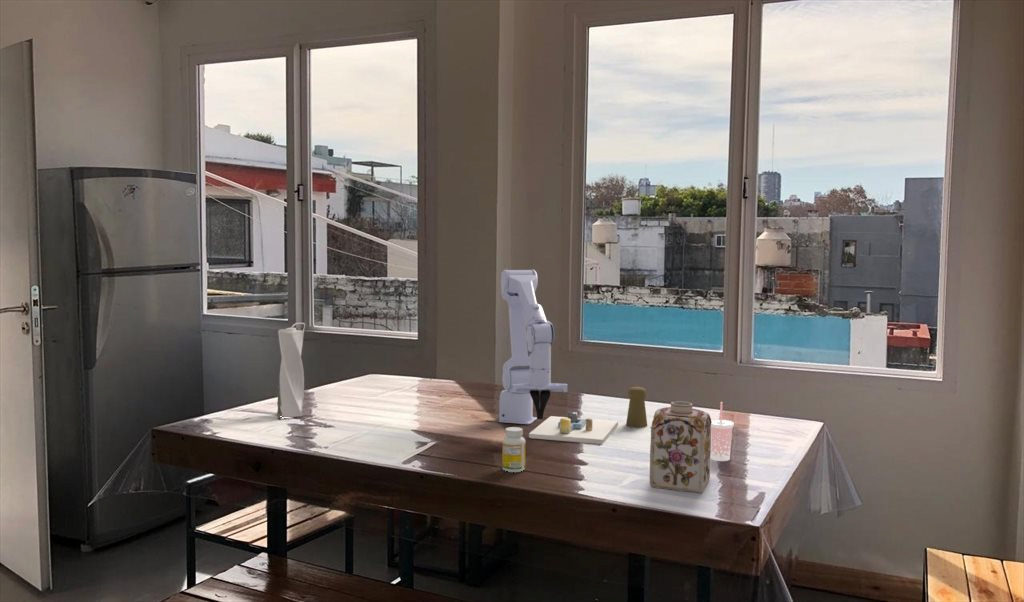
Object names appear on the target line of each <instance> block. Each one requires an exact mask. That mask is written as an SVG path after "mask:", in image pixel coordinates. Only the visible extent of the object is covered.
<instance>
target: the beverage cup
mask: <svg viewBox="0 0 1024 602" xmlns="http://www.w3.org/2000/svg"><path fill="white" fill-rule="evenodd" d="M719 405H720V406H719V409H720V412H719V416H720V417H719V419H711V421H712V423H711V455H710V460H713V461H718V462H728V461H730V459H731V449H732V447H731V446H732V435H733V428H734V425H735V424H734V422H733V421H731V420H728V419H727V420H726V419H723V401H720V404H719Z"/></svg>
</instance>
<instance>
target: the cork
mask: <svg viewBox="0 0 1024 602" xmlns="http://www.w3.org/2000/svg"><path fill="white" fill-rule="evenodd" d="M627 396H628V397H629V403H628V409H627V415H626V424H625V425H626V426H627V427H629V428H636V429H637V428H638V429H640V428H643V429H644V428H646V427H648V420H647V411H646V402H645V398H646V397H647V390H646V388H644V387H642V386H632V387H631V386H630V387H629V389H628V390H627Z"/></svg>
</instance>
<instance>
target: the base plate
mask: <svg viewBox="0 0 1024 602" xmlns="http://www.w3.org/2000/svg"><path fill="white" fill-rule="evenodd" d="M561 418H567V417H566V416H554V415H550V416H549V417H548V418H546V419H545V420H544V421H543V422H541V423H540V424H539V425H538V426H537V427H535V428H534V429H532V430H531V431H530V432H529V433H528V439H534V440H535V439H536V440H537V439H538V440H548V441H549V440H550V441H560V442H571V443H572V442H573V443H581V444H582V443H585V444H597V445H604V443H605V442H606V441H607V440H608V438H609V437H610V436H611V435H612V433H613V432H614V431H615V430H616V428H617V427H618V426H619V420H609V419H608V420H607V419H593V418H592V419H593V421H592V431H586V424H585V425H584V426H583V427H582V428H581V429H580V428H573V429H572V430H571V432H570V433H561V432H560V427H558V422H559V421H560V419H561ZM577 419H583V418H581V417H578V418H577Z"/></svg>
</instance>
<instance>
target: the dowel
mask: <svg viewBox="0 0 1024 602" xmlns="http://www.w3.org/2000/svg"><path fill="white" fill-rule="evenodd" d="M585 419H586V431H592V421H593V418H585Z"/></svg>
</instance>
